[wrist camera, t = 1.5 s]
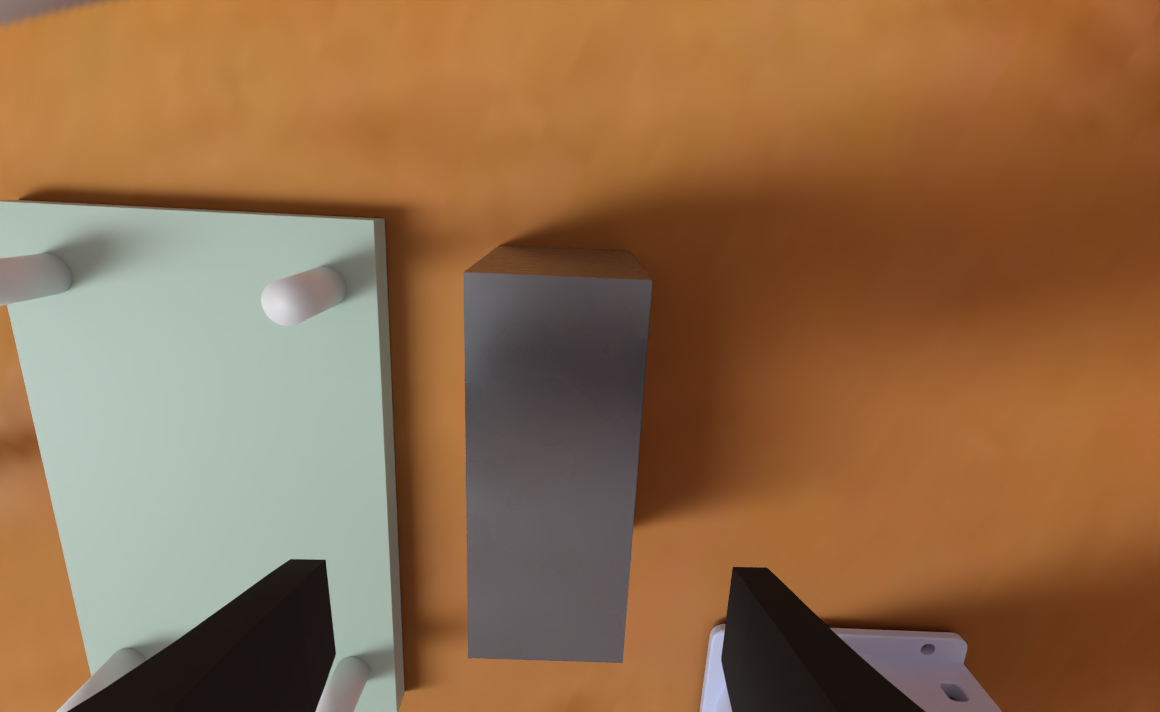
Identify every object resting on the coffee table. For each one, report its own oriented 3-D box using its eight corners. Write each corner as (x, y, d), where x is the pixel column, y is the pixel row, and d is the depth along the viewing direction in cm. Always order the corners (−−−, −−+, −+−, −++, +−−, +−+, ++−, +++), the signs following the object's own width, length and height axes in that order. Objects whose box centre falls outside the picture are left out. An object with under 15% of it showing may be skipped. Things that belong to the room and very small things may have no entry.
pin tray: (384, 218, 18) (339, 225, 14) (404, 692, 23) (374, 780, 19) (16, 200, 17) (-118, 202, 14) (118, 682, 22) (37, 769, 19)
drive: (630, 250, 18) (654, 280, 12) (611, 531, 21) (624, 663, 15) (498, 245, 18) (461, 271, 12) (497, 527, 21) (466, 657, 15)
